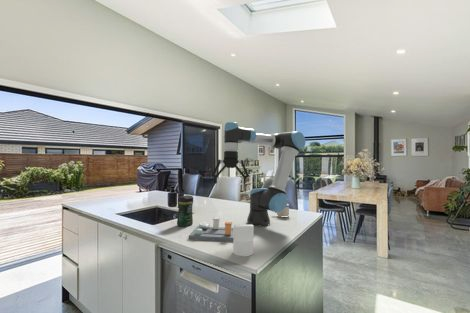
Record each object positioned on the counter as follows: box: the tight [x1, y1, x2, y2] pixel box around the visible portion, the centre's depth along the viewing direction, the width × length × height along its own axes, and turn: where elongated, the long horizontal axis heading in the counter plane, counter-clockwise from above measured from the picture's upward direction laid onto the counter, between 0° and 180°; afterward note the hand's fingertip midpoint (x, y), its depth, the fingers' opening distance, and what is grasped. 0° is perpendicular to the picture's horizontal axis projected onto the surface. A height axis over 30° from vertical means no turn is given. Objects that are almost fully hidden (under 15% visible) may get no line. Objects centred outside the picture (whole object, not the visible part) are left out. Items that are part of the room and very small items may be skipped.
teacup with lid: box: [274, 203, 290, 217], centre depth 179 cm, size 12×9×12 cm
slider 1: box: [212, 216, 221, 229], centre depth 135 cm, size 3×3×6 cm
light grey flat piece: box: [198, 220, 211, 229], centre depth 136 cm, size 5×7×1 cm
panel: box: [188, 225, 234, 243], centre depth 131 cm, size 24×18×4 cm
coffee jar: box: [176, 194, 194, 228], centre depth 150 cm, size 10×8×19 cm
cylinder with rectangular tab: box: [232, 223, 255, 257], centre depth 107 cm, size 9×9×12 cm
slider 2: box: [224, 221, 233, 235], centre depth 125 cm, size 3×3×6 cm
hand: (230, 190), depth 129 cm, fingers open, 13 cm apart
